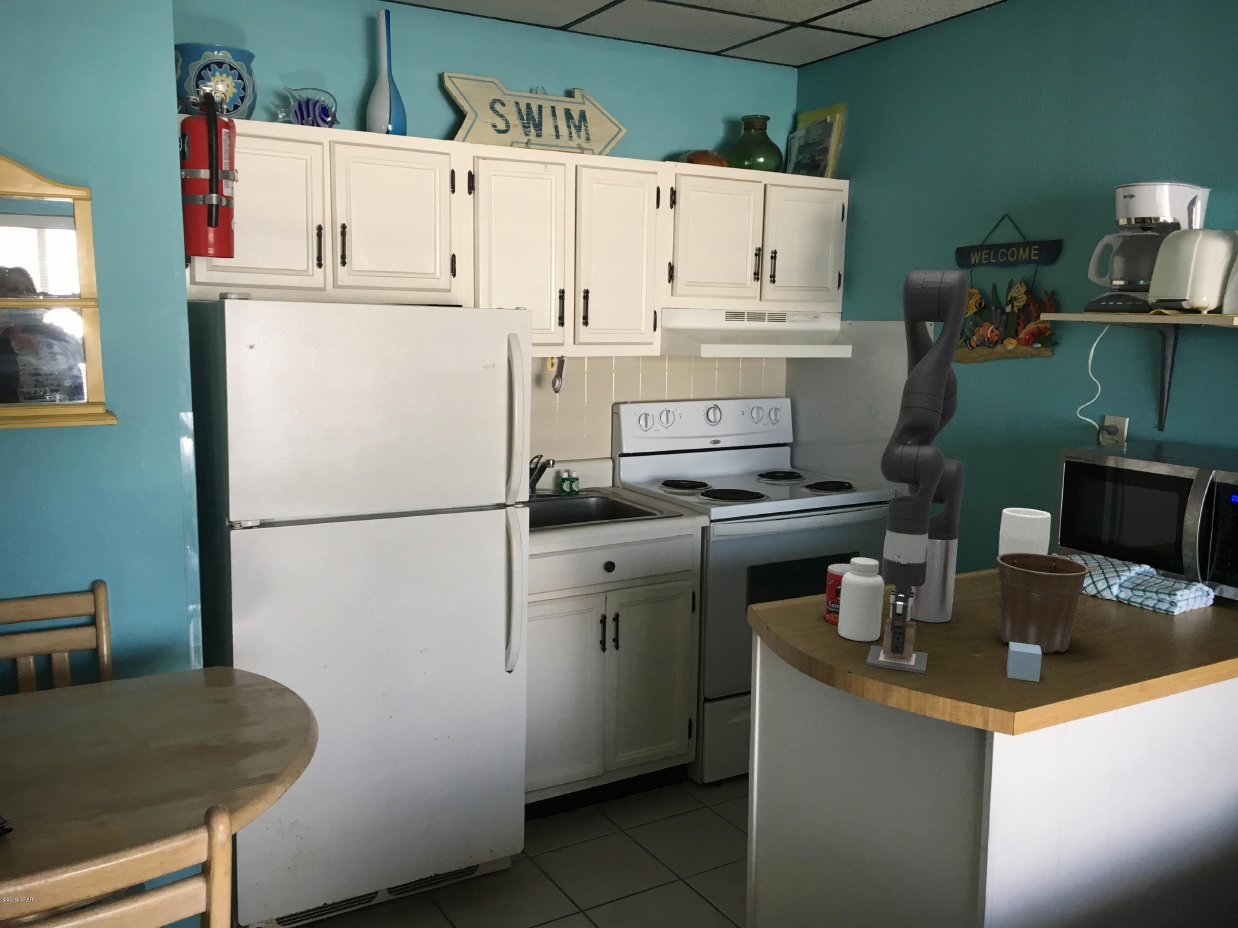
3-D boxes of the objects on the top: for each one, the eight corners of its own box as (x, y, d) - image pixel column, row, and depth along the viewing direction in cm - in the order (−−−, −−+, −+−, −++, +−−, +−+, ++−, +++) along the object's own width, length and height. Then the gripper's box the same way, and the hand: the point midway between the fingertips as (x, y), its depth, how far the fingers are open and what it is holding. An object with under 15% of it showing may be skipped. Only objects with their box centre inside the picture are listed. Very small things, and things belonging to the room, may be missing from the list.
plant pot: (1087, 662, 178) (1096, 576, 175) (992, 651, 182) (1000, 567, 180) (1073, 637, 193) (1081, 557, 191) (986, 627, 198) (993, 549, 195)
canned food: (821, 623, 196) (824, 570, 195) (828, 613, 204) (831, 561, 202) (859, 628, 194) (863, 574, 192) (865, 618, 201) (869, 566, 199)
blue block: (1006, 668, 173) (1009, 641, 172) (1037, 672, 171) (1039, 645, 171) (1007, 677, 168) (1010, 649, 168) (1039, 682, 167) (1041, 654, 166)
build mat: (871, 648, 181) (871, 644, 181) (927, 656, 178) (927, 652, 178) (865, 665, 172) (866, 661, 172) (925, 673, 169) (925, 669, 169)
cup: (1047, 608, 213) (1056, 511, 210) (1038, 619, 205) (1048, 518, 202) (997, 599, 219) (1005, 505, 216) (987, 610, 210) (996, 512, 207)
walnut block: (884, 645, 178) (886, 618, 177) (913, 649, 176) (915, 622, 176) (882, 653, 173) (884, 626, 173) (911, 657, 172) (914, 629, 171)
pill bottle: (881, 644, 184) (887, 566, 182) (838, 640, 186) (843, 563, 184) (878, 631, 192) (884, 557, 190) (837, 627, 194) (842, 554, 191)
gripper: (886, 546, 180) (880, 634, 183) (879, 562, 167) (872, 657, 169) (929, 550, 178) (921, 640, 180) (925, 567, 164) (917, 664, 167)
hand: (898, 648), depth 175 cm, fingers closed on walnut block, 5 cm apart
